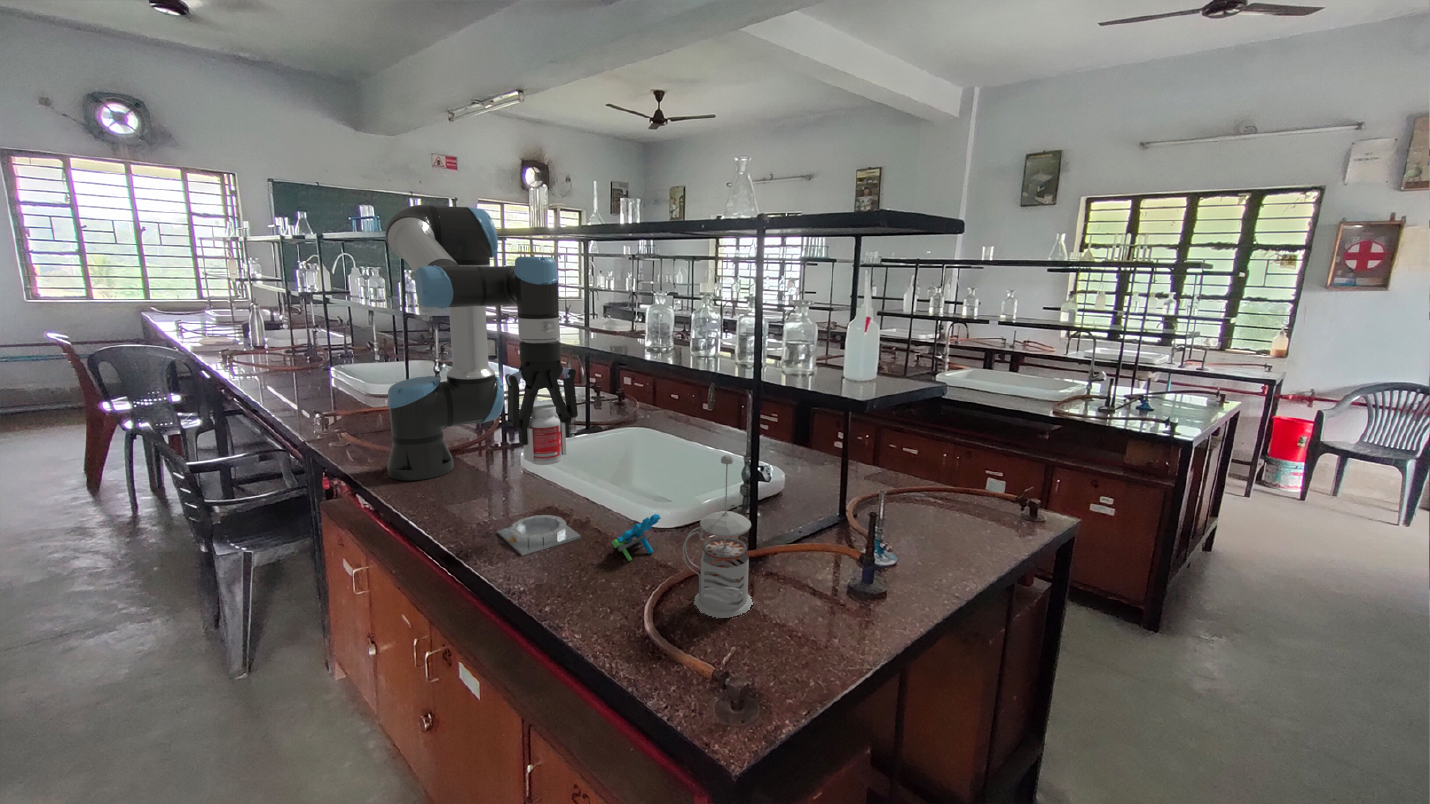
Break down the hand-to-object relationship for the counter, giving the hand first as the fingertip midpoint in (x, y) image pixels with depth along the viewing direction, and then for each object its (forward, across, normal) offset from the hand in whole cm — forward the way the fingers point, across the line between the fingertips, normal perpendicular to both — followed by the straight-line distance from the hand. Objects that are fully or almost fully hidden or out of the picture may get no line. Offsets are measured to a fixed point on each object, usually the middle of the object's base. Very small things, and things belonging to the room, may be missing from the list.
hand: (545, 456), depth 123 cm
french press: (+16, +9, -42) cm, 46 cm away
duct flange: (+15, -3, -2) cm, 16 cm away
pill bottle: (+1, 0, 0) cm, 1 cm away
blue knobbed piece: (+16, +8, -19) cm, 26 cm away
